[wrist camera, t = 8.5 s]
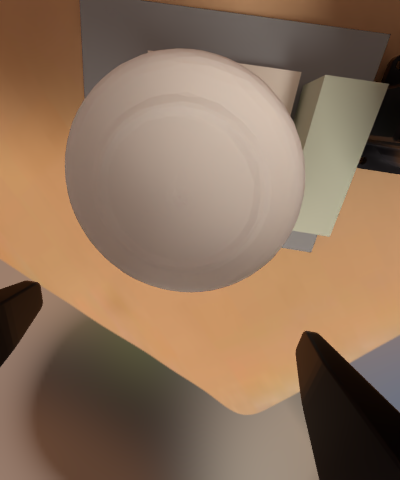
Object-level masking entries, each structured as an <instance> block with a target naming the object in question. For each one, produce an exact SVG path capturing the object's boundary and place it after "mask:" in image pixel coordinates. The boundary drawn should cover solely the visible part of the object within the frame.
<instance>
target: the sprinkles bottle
mask: <svg viewBox="0 0 400 480" xmlns="http://www.w3.org/2000/svg"><path fill="white" fill-rule="evenodd" d="M65 176H66V184H67V190H68V195H69V199H70V203H71V205H72V208H73V210H74V213H75V216H76V218H77V220H78V222H79V224H80V225H81V227H82V229H83V231H84V232H85V234H86V235H87V237H88V238H89V240H90V241H91V242H92V244H93V245H94V246H95V247H96V248H97V250H98V251H99V252H100V253H101V254H102V255H103V256H104V257H105V258H106V259H107V260H108V261H110V262H111V263H112V264H113V265H115V266H116V267H117V268H119V269H120V270H121V271H123V272H124V273H126V274H127V275H129V276H131V277H132V278H134V279H137V280H139V281H141V282H144V283H146V284H148V285H151V286H155V287H158V288H162V289H166V290H172V291H179V292H203V291H211V290H215V289H219V288H223V287H226V286H230V285H232V284H234V283H237V282H239V281H241V280H243V279H245V278H247V277H249V276H250V275H252V274H253V273H255V272H256V271H258V270H259V269H261V268H262V267H263V266H264V265H265V264H267V263H268V262H269V261H270V260H271V259H272V258H273V257H274V256H275V255H276V253H277V252H278V251H279V250H280V248H281V247H282V246H283V245H284V243H285V242H286V240H287V239H288V237H289V235H290V234H291V232H292V230H293V228H294V226H295V224H296V221H297V219H298V216H299V213H300V209H301V205H302V201H303V197H304V189H305V181H306V180H305V160H304V155H303V150H302V146H301V141H300V138H299V135H298V133H297V130H296V127H295V124H294V122H293V120H292V118H291V116H290V115H289V113H288V111H287V109H286V108H285V106H284V104H283V103H282V102H281V100H280V99H279V98H278V97H277V95H276V94H275V93H274V92H273V91H272V89H271V88H270V87H269V86H268V85H267V84H266V83H265V82H264V81H263V80H262V79H261V78H260V77H258V76H257V75H256V74H254V73H253V72H251V71H250V70H248V69H247V68H245V67H243V66H242V65H240V64H238V63H237V62H235V61H233V60H231V59H229V58H226V57H224V56H221V55H218V54H215V53H211V52H207V51H203V50H196V49H183V48H175V49H165V50H157V51H153V52H149V53H146V54H142V55H140V56H138V57H135V58H133V59H131V60H129V61H127V62H125V63H122V64H120V65H119V66H117V67H116V68H115V69H113V70H112V71H111V72H109V73H108V74H107V75H106V76H105V77H103V78H102V79H101V80H100V81H99V82H98V83H97V84H96V85H95V86H94V87H93V89H92V90H91V91H90V93H89V94H88V95H87V97H86V98H85V99H84V101H83V102H82V104H81V106H80V108H79V109H78V111H77V113H76V115H75V118H74V120H73V122H72V126H71V129H70V132H69V136H68V140H67V146H66V154H65Z"/></svg>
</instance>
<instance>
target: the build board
mask: <svg viewBox="0 0 400 480" xmlns="http://www.w3.org/2000/svg"><path fill="white" fill-rule="evenodd" d="M80 17H81V37H82V56H83V76H84V95H85V98H86V97H87V95H88V94H89V93H90V91H91V90H92V89H93V87H94V86H95V85H96V84H97V83H98V82H99V81H100V80H101V79H102V78H103V77H105V76H106V75H107V74H108V73H109V72H111V71H112V70H113V69H115V68H116V67H117V66H119V65H120V64H122V63H125V62H127V61H129V60H131V59H133V58H135V57H138V56H140V55H142V54H146V53H149V52H153V51H157V50H165V49H175V48H183V49H196V50H203V51H207V52H211V53H215V54H218V55H221V56H224V57H226V58H229V59H231V60H233V61H235V62H237V63H238V64H240V65H242V66H243V67H245V68H247V69H248V70H250V71H251V72H253V73H254V74H256V75H257V76H258V77H260V78H261V79H262V80H263V81H264V82H265V83H266V84H267V85H268V86H269V87H270V88H271V89H272V91H273V92H274V93H275V94H276V95H277V97H278V98H279V99H280V100H281V102H282V103H283V104H284V106H285V108H286V109H287V111H288V113H289V115H290V116H291V118H292V120H293V122H294V124H295V127H296V130H297V133H298V135H299V138H300V141H301V146H302V150H303V155H304V160H305V180H306V181H305V189H304V197H303V201H302V205H301V209H300V213H299V216H298V219H297V221H296V224H295V226H294V228H293V230H292V232H291V234H290V235H289V237H288V239H287V240H286V242H285V243H284V245H283V246H282V247H281V248H287V249H293V250H300V251H306V252H311V251H312V248H313V246H314V243H315V240H316V237H317V235H322V236H328V237H330V235H331V232H332V230H333V227H334V224H335V222H336V219H337V217H338V214H339V212H340V209H341V207H342V204H343V201H344V199H345V196H346V194H347V191H348V189H349V186H350V183H351V181H352V178H353V176H354V173H355V171H356V168H357V165H358V163H359V160H360V158H361V155H362V153H363V150H364V147H365V145H366V142H367V140H368V137H369V135H370V132H371V129H372V127H373V124H374V122H375V119H376V117H377V114H378V111H379V109H380V106H381V104H382V101H383V99H384V96H385V93H386V91H387V88H388V86H389V84H386V83H379V82H373V81H374V79H375V76H376V73H377V70H378V68H379V65H380V62H381V59H382V57H383V54H384V51H385V48H386V46H387V43H388V40H389V38H390V35H391V34H384V33H377V32H370V31H362V30H355V29H348V28H340V27H333V26H326V25H318V24H311V23H304V22H296V21H289V20H282V19H274V18H267V17H259V16H252V15H245V14H237V13H230V12H223V11H215V10H208V9H201V8H193V7H186V6H179V5H171V4H164V3H157V2H149V1H142V0H80Z"/></svg>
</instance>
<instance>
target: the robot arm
mask: <svg viewBox="0 0 400 480" xmlns="http://www.w3.org/2000/svg"><path fill="white" fill-rule="evenodd" d="M398 61H400V55H399V56H397V57H395V58H393V59H392V60H391V61H390V62H389V64H388V67H387V69H386V72H385V74H384V77H383V80H382V82H381V83H386V84H389V86H388V88H387V91H386V93H385V96H384V99H383V101H382V104H381V106H380V109H379V111H378V114H377V117H376V119H375V122H374V124H373V127H372V129H371V132H370V135H369V137H368V140H367V142H366V145H365V147H364V150H363V153H362V155H361V157H363V158H364V161H363V162H362V163H361V164H359V163H358V165H357V167H358V168H361V169H368V170H374V171H381V172H388V173H394V174H400V69H399V70H398V69H396V63H397V62H398ZM42 304H43V300H42V293H41V286H40V284H39V283H38V282H33V281H23V282H20V283H17V284H14V285H11V286H9V287H5V288H3V289H0V367H1V365H2V364H3V363H4V361H5V360H6V359H7V358H8V357H9V355H10V354H11V353H12V351H13V350H14V349H15V347H16V346H17V344H18V343H19V342H20V340H21V339H22V337H23V335H24V334H25V332H26V331H27V329H28V327H29V326H30V325H31V323H32V322H33V320H34V319H35V317H36V316H37V314H38V312H39V311H40V309H41V307H42ZM296 361H297V370H298V378H299V386H300V394H301V400H302V406H303V411H304V415H305V420H306V424H307V428H308V432H309V437H310V441H311V445H312V450H313V454H314V459H315V463H316V467H317V472H318V476H319V480H400V413H399V411H398V410H397V409H395V408H394V407H393V406H392V405H391V404H390V403H389V402H388V401H387V400H386V399H385V398H384V397H383V396H382V395H381V394H380V393H379V392H378V391H377V390H376V389H375V388H374V387H373V386H372V385H371V384H370V383H368V381H366V380H365V378H364V377H363V376H362V375H360V373H358V372H357V371H356V370H355V369H354V368H353V367H352V366H351V365H350V364H349V363H348V362H347V361H346V360H345V359H344V358H343V357H342V356H341V355H340V354H339V353H338V352H337V351H336V350H335V349H334V348H333V347H332V346H331V345H330V344H329V343H328V342H327V341H326V340H325V339H323V338H322V337H321V336H320V335H319V334H318V333H316V332H310V331H305V332H303V334H302V336H301V339H300V341H299V343H298V346H297V348H296Z"/></svg>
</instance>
